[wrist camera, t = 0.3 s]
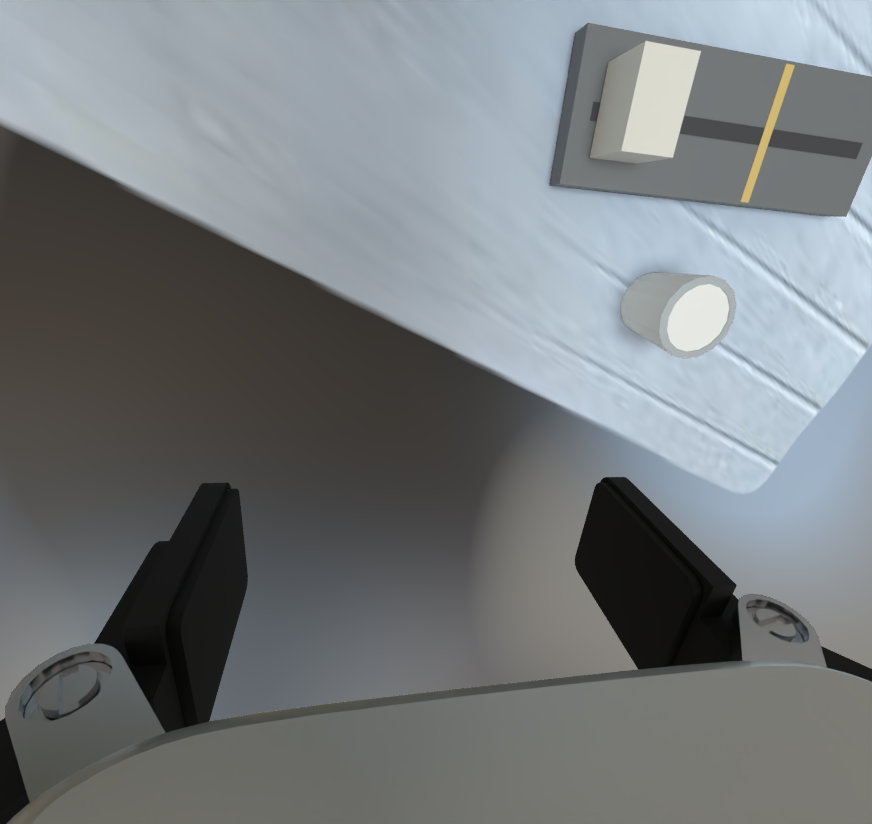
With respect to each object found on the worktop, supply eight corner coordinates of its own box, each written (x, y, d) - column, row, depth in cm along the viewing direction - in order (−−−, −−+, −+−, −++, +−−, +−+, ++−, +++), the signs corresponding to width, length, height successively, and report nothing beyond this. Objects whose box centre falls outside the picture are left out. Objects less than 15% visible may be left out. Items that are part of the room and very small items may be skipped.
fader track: (549, 185, 36) (560, 184, 34) (575, 33, 32) (588, 22, 30) (824, 216, 42) (846, 216, 40) (876, 88, 38) (903, 82, 36)
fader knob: (589, 157, 34) (621, 150, 30) (608, 62, 32) (645, 40, 28) (635, 163, 35) (672, 157, 31) (657, 70, 32) (701, 51, 28)
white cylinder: (643, 251, 40) (697, 260, 34) (694, 286, 42) (753, 299, 36) (600, 319, 42) (643, 338, 36) (651, 348, 44) (700, 371, 38)
